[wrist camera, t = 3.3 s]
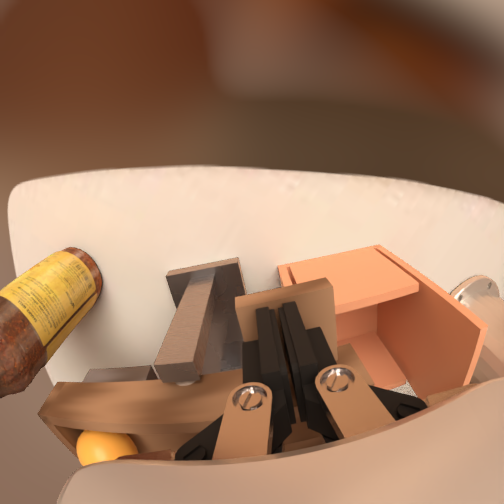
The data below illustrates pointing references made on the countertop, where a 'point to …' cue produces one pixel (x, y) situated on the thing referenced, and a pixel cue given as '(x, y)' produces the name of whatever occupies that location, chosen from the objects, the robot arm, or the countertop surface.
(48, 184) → the countertop surface
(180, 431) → the brown wooden tray
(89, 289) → the sauce bottle
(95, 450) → the ball
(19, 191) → the countertop surface
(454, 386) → the cup
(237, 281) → the stand
